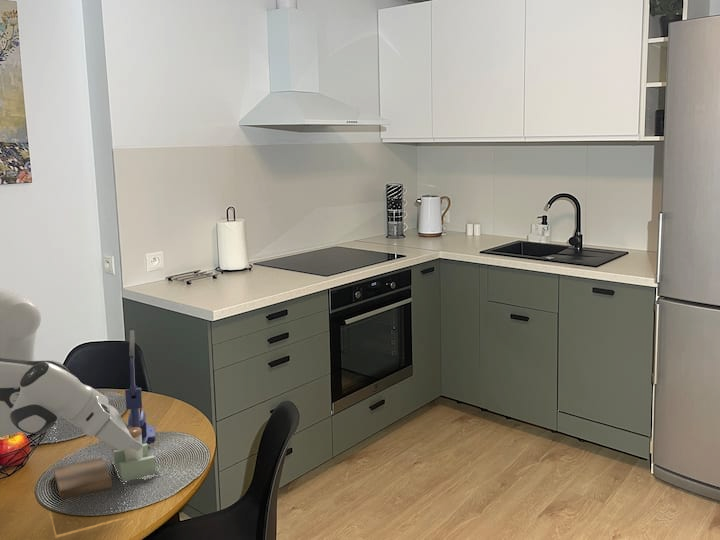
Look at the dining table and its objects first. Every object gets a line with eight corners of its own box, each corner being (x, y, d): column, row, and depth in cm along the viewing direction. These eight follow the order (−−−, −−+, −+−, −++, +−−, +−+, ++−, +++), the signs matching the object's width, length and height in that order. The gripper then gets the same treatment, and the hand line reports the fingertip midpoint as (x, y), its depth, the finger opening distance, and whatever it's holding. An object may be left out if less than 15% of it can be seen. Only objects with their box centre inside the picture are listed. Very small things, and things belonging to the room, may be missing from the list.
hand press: (155, 453, 176) (148, 349, 170) (119, 457, 173) (111, 352, 168) (155, 423, 193) (148, 328, 188) (122, 427, 191) (115, 331, 185)
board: (54, 477, 163) (53, 468, 163) (102, 466, 169) (102, 457, 168) (61, 501, 153) (60, 491, 153) (112, 488, 159) (111, 478, 158)
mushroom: (123, 463, 167) (120, 429, 165) (141, 459, 169) (139, 425, 168) (127, 471, 164) (124, 436, 162) (145, 466, 166) (143, 432, 164)
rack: (114, 464, 169) (112, 449, 168) (146, 456, 173) (145, 442, 172) (122, 482, 161) (121, 466, 160) (156, 473, 164) (155, 458, 164)
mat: (110, 462, 171) (110, 461, 170) (147, 454, 175) (147, 453, 175) (122, 488, 159) (122, 486, 159) (161, 478, 163) (161, 476, 163)
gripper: (73, 405, 167) (118, 433, 174) (87, 437, 149) (136, 467, 156) (91, 385, 168) (134, 413, 175) (107, 414, 151) (154, 445, 158)
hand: (135, 439), depth 165 cm, fingers open, 8 cm apart
